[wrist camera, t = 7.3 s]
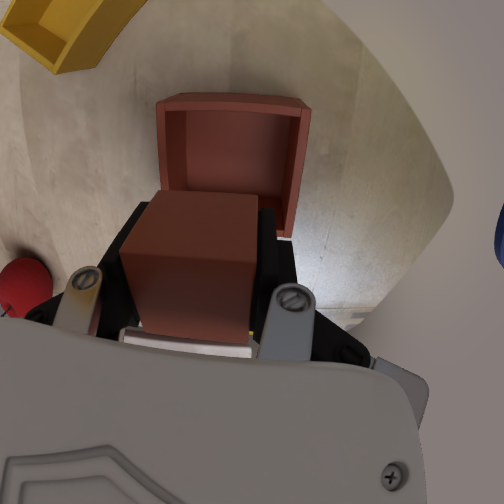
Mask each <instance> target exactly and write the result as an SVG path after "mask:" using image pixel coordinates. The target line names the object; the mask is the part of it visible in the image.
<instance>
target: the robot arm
mask: <svg viewBox="0 0 504 504" xmlns="http://www.w3.org/2000/svg"><path fill="white" fill-rule="evenodd" d="M149 203H150V202H140V204H139V205H138V206H137V208H136V209H135V210H134V212H133V213H132V215H131V216H130V218H129V219H128V220H127V222H126V223H125V225H124V226H123V228H122V229H121V231H120V232H119V233H118V234H117V236H116V237H115V239H114V241H113V242H112V244H111V245H110V247H109V248H108V250H107V251H106V253H105V255H104V256H103V258H102V259H101V261H100V263H99V264H98V266H97V267H95V266H86V267H83V268H80V269H78V270H77V271H75V272H74V273H73V274H72V275H71V277H70V279H69V281H68V283H67V286H66V288H65V291H64V292H62V293H60V294H59V295H57V296H55V297H53V298H51V299H49V300H47V301H45V302H43V303H41V304H39V305H37V306H35V307H34V308H32V309H31V310H30V311H29V312H28V313H27V314H26V315H25V317H24V318H23V316H22V317H19V318H13V317H0V504H427V495H426V481H425V471H424V463H423V454H422V448H421V443H420V438H419V433H418V430H419V427H420V424H421V421H422V418H423V414H424V411H425V408H426V405H427V401H428V397H429V388H428V385H427V383H426V382H425V380H424V379H423V378H421V377H420V376H418V375H416V374H414V373H411V372H409V371H407V370H405V369H403V368H401V367H399V366H397V365H395V364H392V363H390V362H388V361H386V360H384V359H382V358H380V357H377V358H376V359H375V358H373V357H371V356H370V353H369V351H368V349H367V348H366V347H365V346H364V345H363V344H362V343H361V342H359V341H358V340H357V339H355V338H354V337H352V336H351V335H349V334H348V333H347V332H346V331H344V330H343V329H341V328H340V327H339V326H337V325H336V324H335V323H333V322H332V321H330V320H329V319H328V318H326V317H325V316H324V315H322V314H321V313H319V312H318V311H317V310H315V306H316V301H315V296H314V295H313V293H312V292H311V291H310V290H309V289H308V288H306V287H305V286H303V285H300V284H298V283H297V275H296V268H295V260H294V253H293V246H292V242H291V241H286V240H277V233H276V220H275V209H273V208H261V211H258V221H257V263H256V272H255V279H254V288H253V297H252V307H251V317H250V326H249V331H251V332H253V340H255V341H256V342H257V343H258V344H259V349H258V352H257V356H256V359H253V358H238V357H226V356H215V355H205V354H196V353H188V352H180V351H172V350H165V349H159V348H152V347H146V346H140V345H134V344H129V343H123V342H124V334H125V327H127V326H133V327H138V325H139V322H140V317H139V315H138V312H137V309H136V306H135V303H134V300H133V297H132V294H131V291H130V288H129V285H128V282H127V278H126V275H125V272H124V268H123V265H122V261H121V258H120V254H119V250H120V248H121V247H122V245H123V243H124V242H125V240H126V238H127V237H128V235H129V234H130V232H131V230H132V229H133V227H134V226H135V224H136V223H137V221H138V219H139V218H140V216H141V215H142V213H143V212H144V210H145V209H146V207H147V206H148V204H149Z"/></svg>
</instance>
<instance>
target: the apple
mask: <svg viewBox="0 0 504 504" xmlns="http://www.w3.org/2000/svg"><path fill="white" fill-rule="evenodd" d="M52 295H53V281H52V278H51V276H50V274H49V272H48V270H47V269H46V268H45V266H44V265H43V264H42V263H41V262H39V261H38V260H36V259H33V258H27V257H21V258H17V259H15V260H13V261H11V262H10V263H8V264H7V265H6V266H5V267H4V269H3V270H2V271H1V273H0V304H1V306H2V308H3V309H4V310H5V313H4V314H3V315H1V317H4V315H5V314H6V313H7V314H8V315H9V316H10V317H13V318H19V317H22V316H23V318H24V317H25V315H26V314H27V313H28V312H29V311H30V310H31V309H32V308H34V307H35V306H37V305H39V304H41V303H43V302H45V301H47V300H49V299H51V298H52Z"/></svg>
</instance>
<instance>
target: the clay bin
mask: <svg viewBox="0 0 504 504" xmlns="http://www.w3.org/2000/svg"><path fill="white" fill-rule="evenodd" d="M311 111H312V110H311V109H310V108H309V107H308V106H307V105H306V104H305V103H304V102H303V101H302V100H300V99H297V98H289V97H281V96H271V95H259V94H243V93H180V94H177V95H175V96H172V97H169V98H167V99H164V100H162V101H159V102H157V103H156V118H157V141H158V157H159V171H160V182H161V190H173V191H201V192H221V193H237V194H252V195H257V196H258V211H261V208H273V209H275V220H276V233H277V237H285V238H291V236H292V231H293V225H294V220H295V214H296V208H297V202H298V197H299V191H300V184H301V178H302V172H303V166H304V159H305V153H306V146H307V139H308V133H309V126H310V118H311Z"/></svg>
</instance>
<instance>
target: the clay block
mask: <svg viewBox="0 0 504 504" xmlns="http://www.w3.org/2000/svg"><path fill="white" fill-rule="evenodd" d="M257 221H258V196H257V195H252V194H237V193H221V192H201V191H173V190H159V191H157V193H156V194H155V196H154V197H153V199H152V200H151V201H150V203H149V204H148V206H147V207H146V209H145V210H144V212H143V213H142V215H141V216H140V218H139V219H138V221H137V223H136V224H135V226H134V227H133V229H132V230H131V232H130V234H129V235H128V237H127V238H126V240H125V242H124V243H123V245H122V247H121V248H120V250H119V254H120V258H121V261H122V265H123V268H124V272H125V275H126V278H127V282H128V285H129V288H130V291H131V294H132V297H133V300H134V303H135V306H136V309H137V312H138V315H139V317H140V320H141V323H142V326H143V328H144V331H145V332H148V333H154V334H161V335H169V336H177V337H185V338H194V339H203V340H213V341H225V342H238V343H247V342H248V339H249V326H250V317H251V307H252V297H253V288H254V279H255V272H256V263H257Z"/></svg>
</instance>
